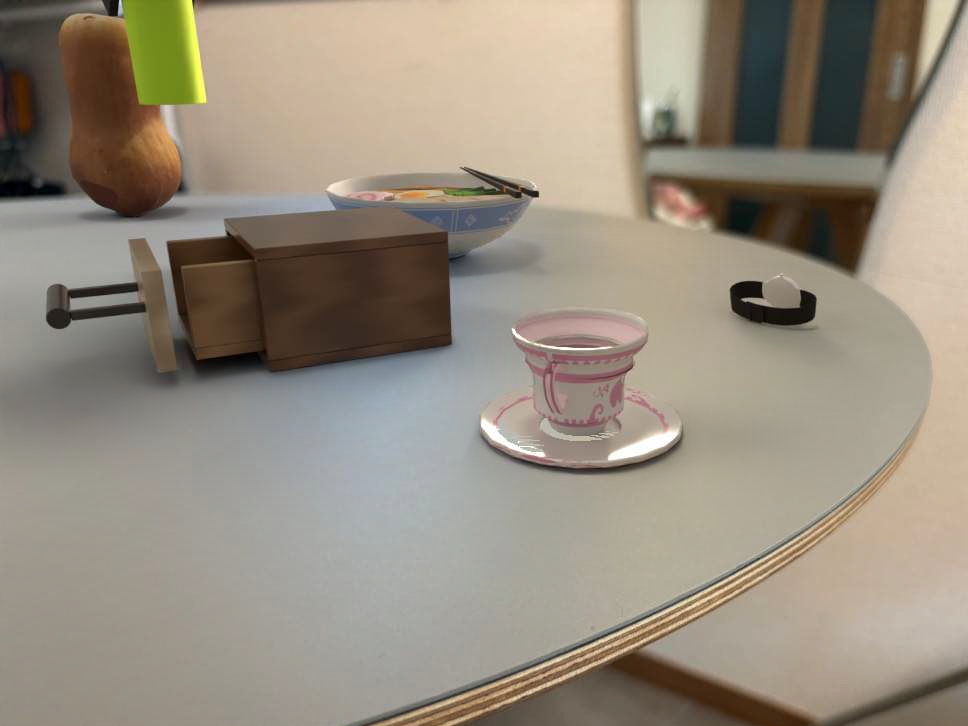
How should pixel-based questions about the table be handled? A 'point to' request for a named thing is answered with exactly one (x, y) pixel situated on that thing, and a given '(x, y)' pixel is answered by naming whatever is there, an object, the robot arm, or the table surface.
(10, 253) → the table surface
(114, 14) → the robot arm
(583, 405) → the teacup
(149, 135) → the butternut squash
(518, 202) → the ramen bowl
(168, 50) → the soap dispenser
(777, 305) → the watch
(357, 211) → the cabinet
